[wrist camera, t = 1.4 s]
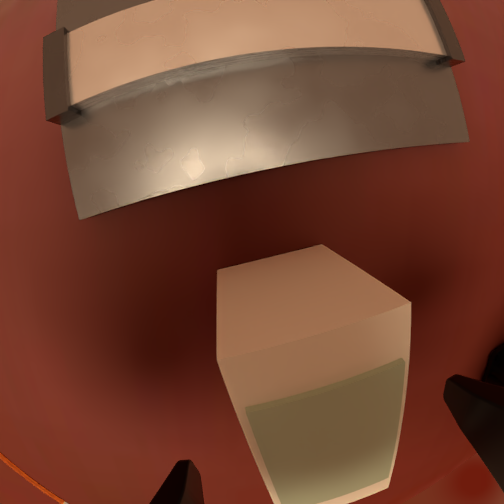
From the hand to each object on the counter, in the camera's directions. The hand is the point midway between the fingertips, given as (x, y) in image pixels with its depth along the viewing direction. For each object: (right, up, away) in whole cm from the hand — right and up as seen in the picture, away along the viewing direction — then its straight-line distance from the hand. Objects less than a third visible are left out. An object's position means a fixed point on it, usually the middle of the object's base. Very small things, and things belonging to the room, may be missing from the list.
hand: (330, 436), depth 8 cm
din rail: (-2, +15, +2) cm, 15 cm away
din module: (-1, +1, +6) cm, 6 cm away
